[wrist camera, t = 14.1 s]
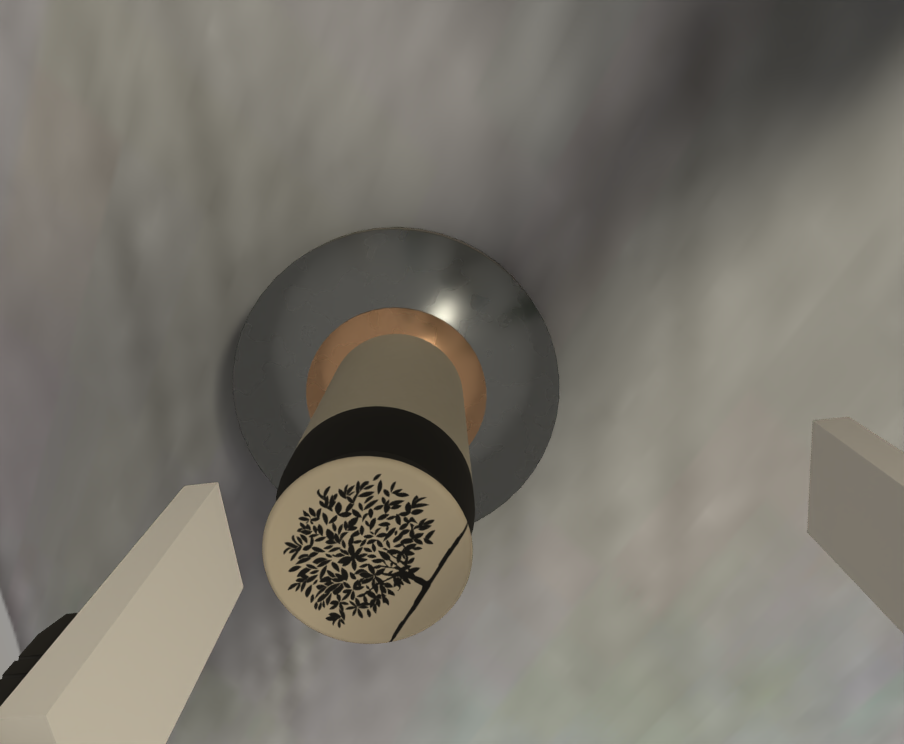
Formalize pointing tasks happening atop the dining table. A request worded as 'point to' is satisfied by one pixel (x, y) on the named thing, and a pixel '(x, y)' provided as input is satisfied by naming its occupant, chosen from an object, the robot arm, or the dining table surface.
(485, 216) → the dining table surface
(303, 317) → the grey flat disc
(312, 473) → the travel mug
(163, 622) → the robot arm
